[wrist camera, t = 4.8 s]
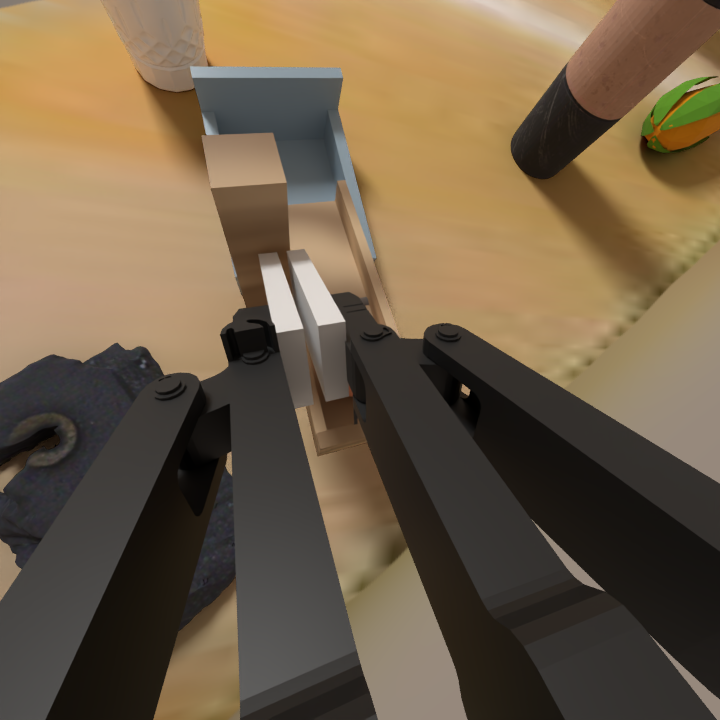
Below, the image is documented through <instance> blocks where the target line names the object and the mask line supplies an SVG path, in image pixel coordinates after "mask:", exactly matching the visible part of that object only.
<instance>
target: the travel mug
mask: <svg viewBox="0 0 720 720" xmlns="http://www.w3.org/2000/svg"><path fill="white" fill-rule="evenodd" d="M719 29H720V0H617V1H616V2H615V4H614V5H613V6H612V7H611V9H610V10H609V11H608V12H607V14H606V15H605V16H604V17H603V19H602V20H601V21H600V22H599V24H598V25H597V26H596V27H595V29H594V30H593V31H592V32H591V34H590V35H589V36H588V37H587V39H586V40H585V41H584V42H583V44H582V45H581V46H580V47H579V49H578V50H577V51H576V52H575V54H574V55H573V56H572V57H571V59H570V60H569V62H568V63H567V64H566V65H565V67H564V68H563V69H562V71H561V72H560V73H559V75H558V76H557V77H556V79H555V80H554V81H553V83H552V84H551V85H550V87H549V88H548V89H547V91H546V92H545V93H544V95H543V96H542V97H541V99H540V100H539V101H538V103H537V104H536V105H535V107H534V108H533V109H532V111H531V112H530V113H529V115H528V116H527V117H526V119H525V120H524V121H523V123H522V124H521V126H520V127H519V128H518V130H517V131H516V133H515V134H514V136H513V138H512V141H511V152H512V155H513V158H514V160H515V162H516V163H517V165H518V166H519V167H520V168H521V169H522V170H523V171H524V172H525V173H527V174H528V175H530V176H532V177H535V178H539V179H546V178H550V177H552V176H554V175H556V174H557V173H558V172H559V171H560V170H562V169H563V168H564V167H565V166H566V165H568V164H569V163H570V162H571V161H572V160H573V159H575V158H576V157H577V156H578V155H579V154H580V153H582V152H583V151H584V150H585V149H586V148H587V147H589V146H590V145H591V144H592V143H593V142H594V141H596V140H597V139H598V138H599V137H600V136H601V135H603V134H604V133H605V132H606V131H607V130H608V129H610V128H611V127H612V126H613V125H614V124H615V123H617V122H618V121H619V120H620V119H621V118H622V117H623V116H625V115H626V114H627V113H628V112H629V111H630V110H631V109H632V108H634V107H635V106H636V105H637V104H638V103H639V102H640V101H641V100H642V99H643V98H644V97H646V96H647V95H648V94H649V93H650V92H651V91H652V90H653V89H654V88H655V87H657V86H658V85H659V84H660V83H661V82H662V81H663V80H664V79H665V78H666V77H667V76H669V75H670V74H671V73H672V72H673V71H674V70H675V69H676V68H677V67H678V66H680V65H681V64H682V63H683V62H684V61H685V60H686V59H687V58H688V57H689V56H690V55H692V54H693V53H694V52H695V51H696V50H697V49H698V48H699V47H700V46H701V45H703V44H704V43H705V42H706V41H707V40H708V39H709V38H710V37H711V36H712V35H713V34H715V33H716V32H717V31H718V30H719Z"/></svg>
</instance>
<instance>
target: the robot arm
mask: <svg viewBox="0 0 720 720" xmlns="http://www.w3.org/2000/svg"><path fill="white" fill-rule="evenodd" d="M258 256H259V261H260V266H261V271H262V276H263V281H264V287H265V292H266V297H267V302H268V305H263V306H257V307H250V308H243V309H239V310H238V311H237V312H236V314H235V315H234V316H233V322H232V323H230V324H228V325H227V326H225V327H224V328H223V329H222V331H221V334H220V336H221V339H222V342H223V346H224V349H225V352H226V355H227V359H228V363H229V366H228V367H227V368H226V369H225V370H224V371H222V372H221V373H219V374H217V375H215V376H213V377H211V378H208V379H206V380H203V381H201V382H200V381H199V379H198V378H197V376H195V375H193V374H190V373H174V374H169V375H165V376H162V377H160V378H158V379H156V380H154V381H153V382H151V383H149V384H148V385H147V386H146V387H145V388H144V389H143V390H142V391H141V392H140V393H139V395H138V396H137V398H136V399H135V401H134V402H133V404H132V405H131V407H130V408H129V410H128V411H127V413H126V414H125V416H124V417H123V419H122V420H121V422H120V423H119V425H118V426H117V428H116V429H115V431H114V432H113V434H112V435H111V437H110V438H109V440H108V441H107V443H106V444H105V446H104V447H103V449H102V450H101V452H100V453H99V455H98V456H97V458H96V459H95V461H94V462H93V464H92V465H91V467H90V468H89V470H88V471H87V473H86V474H85V476H84V477H83V479H82V480H81V482H80V483H79V485H78V486H77V488H76V489H75V491H74V492H73V494H72V495H71V497H70V498H69V500H68V501H67V503H66V504H65V506H64V507H63V509H62V510H61V512H60V513H59V515H58V516H57V518H56V519H55V521H54V522H53V524H52V525H51V527H50V528H49V530H48V531H47V533H46V534H45V536H44V537H43V539H42V540H41V542H40V543H39V545H38V546H37V548H36V549H35V551H34V552H33V554H32V555H31V557H30V558H29V560H28V561H27V563H26V564H25V566H24V567H23V569H22V570H21V572H20V573H19V575H18V576H17V578H16V579H15V581H14V582H13V584H12V585H11V587H10V588H9V590H8V591H7V593H6V594H5V595H4V597H3V598H2V600H1V601H0V720H153V718H154V715H155V711H156V708H157V704H158V700H159V697H160V693H161V690H162V686H163V683H164V679H165V676H166V672H167V669H168V665H169V662H170V658H171V655H172V651H173V648H174V644H175V641H176V637H177V634H178V630H179V627H180V623H181V620H182V616H183V612H184V609H185V605H186V602H187V598H188V595H189V591H190V588H191V584H192V581H193V577H194V574H195V570H196V567H197V563H198V560H199V556H200V553H201V549H202V546H203V542H204V539H205V535H206V532H207V528H208V524H209V521H210V517H211V514H212V510H213V507H214V503H215V500H216V496H217V493H218V489H219V486H220V482H221V479H222V475H223V472H224V468H225V465H226V461H227V453H229V452H231V451H232V479H233V507H234V536H235V565H236V594H237V623H238V652H239V681H240V720H378V719H377V715H376V712H375V708H374V705H373V701H372V698H371V695H370V692H369V689H368V686H367V683H366V681H365V677H364V674H363V671H362V668H361V664H360V660H359V657H358V653H357V649H356V645H355V641H354V638H353V634H352V630H351V626H350V622H349V618H348V614H347V610H346V606H345V603H344V599H343V595H342V591H341V587H340V583H339V579H338V575H337V571H336V568H335V564H334V560H333V556H332V552H331V548H330V544H329V540H328V536H327V533H326V529H325V525H324V521H323V517H322V513H321V509H320V505H319V502H318V498H317V494H316V490H315V486H314V482H313V478H312V474H311V470H310V467H309V463H308V459H307V455H306V451H305V447H304V443H303V439H302V436H301V432H300V428H299V424H298V420H297V416H296V412H295V408H300V407H304V406H309V405H313V404H314V403H313V395H312V388H311V380H310V373H309V365H308V358H307V351H306V344H307V347H308V350H309V353H310V356H311V359H312V362H313V365H314V368H315V371H316V374H317V377H318V380H319V383H320V385H321V388H322V391H323V394H324V397H325V400H326V401H331V400H336V399H340V398H345V397H349V386H350V388H351V390H352V393H353V414H354V425H355V424H358V420H359V422H360V425H361V428H362V430H363V433H364V435H365V438H366V440H367V443H368V445H369V448H370V451H371V453H372V456H373V458H374V461H375V463H376V466H377V468H378V471H379V474H380V476H381V479H382V481H383V484H384V486H385V489H386V491H387V494H388V497H389V499H390V502H391V504H392V507H393V509H394V512H395V514H396V517H397V520H398V522H399V525H400V527H401V530H402V532H403V535H404V537H405V540H406V543H407V545H408V548H409V550H410V553H411V555H412V558H413V560H414V563H415V566H416V568H417V571H418V573H419V576H420V578H421V581H422V583H423V586H424V589H425V591H426V594H427V596H428V599H429V601H430V604H431V606H432V609H433V611H434V614H435V617H436V619H437V622H438V624H439V627H440V629H441V632H442V635H443V637H444V640H445V642H446V645H447V647H448V650H449V652H450V655H451V657H452V660H453V663H454V666H455V669H456V672H457V676H458V679H459V685H460V691H461V698H462V701H463V705H464V709H465V712H466V716H467V719H468V720H717V719H716V718H715V717H714V716H713V714H712V713H711V712H710V710H709V709H708V708H707V707H706V705H705V704H704V703H703V702H702V700H701V699H700V698H699V697H698V695H697V694H696V693H695V692H694V690H693V689H692V688H691V686H690V685H689V684H688V683H687V681H686V680H685V679H684V678H683V677H682V675H681V674H680V673H679V672H678V670H677V669H676V668H675V666H674V665H673V664H672V663H671V661H670V660H669V659H668V657H667V656H666V655H665V654H664V652H663V651H662V650H661V649H660V648H659V646H658V645H657V644H656V642H655V641H654V640H653V639H652V637H653V638H654V639H655V640H656V641H657V642H658V643H659V644H660V645H661V646H662V647H663V648H664V649H665V650H666V651H667V652H668V653H669V654H670V655H671V656H672V657H673V658H675V659H676V660H677V661H678V662H679V663H680V664H681V665H682V666H683V667H684V668H685V669H686V670H688V671H689V672H690V673H691V674H692V675H693V676H694V677H695V678H696V679H697V680H698V681H699V682H701V683H702V684H703V685H704V686H705V687H706V688H707V689H708V690H709V691H711V692H712V693H713V694H714V695H715V696H716V697H718V698H719V699H720V484H719V483H718V482H716V481H714V480H713V479H711V478H710V477H708V476H706V475H704V474H703V473H701V472H699V471H698V470H696V469H695V468H693V467H691V466H690V465H688V464H687V463H685V462H683V461H682V460H680V459H678V458H677V457H675V456H673V455H672V454H670V453H668V452H667V451H665V450H663V449H662V448H660V447H659V446H657V445H655V444H654V443H652V442H650V441H649V440H647V439H645V438H644V437H642V436H640V435H639V434H637V433H635V432H634V431H632V430H631V429H629V428H627V427H626V426H624V425H622V424H620V423H619V422H617V421H616V420H614V419H612V418H611V417H609V416H608V415H606V414H604V413H603V412H601V411H599V410H598V409H596V408H594V407H593V406H591V405H589V404H588V403H586V402H584V401H583V400H581V399H580V398H578V397H576V396H575V395H573V394H571V393H570V392H568V391H566V390H565V389H563V388H562V387H560V386H558V385H557V384H555V383H553V382H552V381H550V380H548V379H547V378H545V377H543V376H542V375H540V374H539V373H537V372H535V371H534V370H532V369H530V368H529V367H527V366H525V365H524V364H522V363H520V362H519V361H517V360H515V359H514V358H512V357H511V356H509V355H507V354H506V353H504V352H502V351H501V350H499V349H497V348H496V347H494V346H492V345H491V344H489V343H488V342H486V341H484V340H483V339H481V338H479V337H478V336H476V335H474V334H473V333H471V332H469V331H468V330H466V329H464V328H462V327H460V326H457V325H452V324H449V323H445V324H444V323H441V324H436V325H432V326H430V327H428V328H427V329H426V330H425V332H424V338H423V339H405V338H399V336H398V335H397V334H396V332H395V331H394V330H393V329H392V328H390V327H388V326H385V325H382V324H378V323H377V322H376V320H375V319H374V318H373V316H372V315H371V313H370V312H369V311H368V310H367V308H366V307H365V305H363V302H362V301H361V300H360V298H359V297H358V296H356V295H354V294H352V293H350V292H344V293H337V294H330V293H329V291H328V290H327V288H326V286H325V284H324V283H323V281H322V279H321V277H320V275H319V274H318V272H317V270H316V268H315V267H314V265H313V263H312V261H311V260H310V258H309V256H308V254H307V253H306V251H305V249H299V250H290V251H287V258H288V265H289V272H290V279H291V286H292V293H293V297H292V294H291V291H290V288H289V285H288V282H287V280H286V277H285V274H284V271H283V268H282V265H281V262H280V259H279V257H278V254H277V252H273V253H264V254H258ZM305 341H306V343H305ZM462 384H464V385H465V386H466V387H468V388H469V389H470V394H469V396H468V395H466V394H464V393H463V392H462V391H461V388H462ZM357 418H358V420H357ZM531 519H532V520H533V521H534V522H535V523H536V524H537V525H538V526H539V527H540V528H541V529H542V530H543V531H544V532H545V533H546V534H547V535H548V536H549V537H550V538H551V539H553V541H554V542H555V543H556V544H557V545H559V546H560V547H561V548H562V549H563V550H564V551H565V552H566V553H567V554H568V555H569V556H570V557H571V558H572V559H573V560H574V561H575V562H576V563H577V564H578V565H579V566H580V567H581V568H582V569H583V570H584V571H585V572H586V573H587V574H588V575H589V576H590V577H591V578H592V579H593V580H594V581H595V582H596V583H598V585H600V586H601V587H602V588H603V589H604V590H605V591H606V592H607V593H606V592H605V591H602V590H599V589H596V588H593V587H590V586H587V585H584V584H582V583H581V582H580V581H579V580H577V579H576V578H575V577H574V576H573V575H572V574H571V573H570V571H569V570H568V569H567V568H566V567H565V565H564V564H563V562H562V561H561V560H560V559H559V557H558V556H557V554H556V553H555V551H554V550H553V549H552V547H551V546H550V544H549V543H548V542H547V541H546V539H545V538H544V536H543V535H542V534H541V532H540V531H539V530H538V528H537V527H536V525H535V524H534V522H533V521H532V520H531ZM649 634H650V635H651V636H652V637H651V636H650V635H649Z"/></svg>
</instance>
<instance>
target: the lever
mask: <svg viewBox="0 0 720 720" xmlns="http://www.w3.org/2000/svg"><path fill="white" fill-rule="evenodd" d="M201 136H202V141H203V147H204V153H205V158H206V164H207V170H208V175H209V181H210V186H211V191H212V194H213V197H214V201H215V204H216V207H217V211H218V214H219V217H220V221H221V224H222V227H223V231H224V234H225V237H226V241H227V244H228V247H229V251H230V254H231V258H232V261H233V264H234V268H235V271H236V274H237V278H238V281H239V284H240V288H241V291H242V294H243V298H244V301H245V304H246V308H250V307H257V306H263V305H268V302H267V297H266V292H265V287H264V281H263V276H262V271H261V266H260V261H259V256H258V254H264V253H273V252H277V254H278V257H279V259H280V262H281V265H282V268H283V271H284V274H285V277H286V280H287V282H288V285H289V288H290V291H291V294H292V297H293V293H292V286H291V279H290V272H289V265H288V258H287V251H290V250H299V249H305V251H306V253H307V254H308V256H309V258H310V260H311V261H312V263H313V265H314V267H315V268H316V270H317V272H318V274H319V275H320V277H321V279H322V281H323V283H324V284H325V286H326V288H327V290H328V291H329V293H330V294H337V293H344V292H350V293H352V294H354V295H356V296H358V297H359V298H360V300H361V301H362V302H363V305H365V307H366V308H367V310H368V311H369V312H370V313H371V315H372V316H373V318H374V319H375V320H376V322H377V323H378V324H382V325H385V326H388V327H390V328H392V329H393V330H394V331H395V332H396V334H397V335H398V336H399V338H400V335H399V332H398V329H397V326H396V324H395V321H394V318H393V315H392V312H391V309H390V306H389V304H388V301H387V298H386V295H385V292H384V289H383V287H382V284H381V281H380V278H379V275H378V272H377V269H376V267H375V264H374V261H373V258H372V255H371V252H370V249H369V247H368V244H367V241H366V238H365V235H364V232H363V229H362V227H361V224H360V221H359V218H358V215H357V212H356V210H355V207H354V204H353V201H352V198H351V195H350V192H349V190H348V187H347V184H346V181H345V180H340V181H337V187H336V196H335V201H327V202H316V203H304V204H293V205H288V198H287V182H286V178H285V174H284V171H283V167H282V164H281V160H280V156H279V153H278V149H277V145H276V142H275V138H274V135H273V133H251V134H224V135H201ZM305 343H306V341H305ZM306 351H307V358H308V365H309V373H310V380H311V388H312V395H313V403H314V404H313V405H309V406H306V409H307V413H308V417H309V422H310V426H311V430H312V434H313V439H314V443H315V447H316V452H317V456H321V455H324V454H328V453H331V452H335V451H339V450H342V449H346V448H350V447H353V446H357V445H361V444H364V443H367V440H366V438H365V435H364V433H363V430H362V428H361V425H360V422H359V420H358V418H357V420H358V424H355V425H354V414H353V397H351V396H349V397H345V398H340V399H336V400H331V401H326V400H325V397H324V394H323V391H322V388H321V385H320V383H319V380H318V377H317V374H316V371H315V368H314V365H313V362H312V359H311V356H310V353H309V350H308V347H307V344H306Z"/></svg>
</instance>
